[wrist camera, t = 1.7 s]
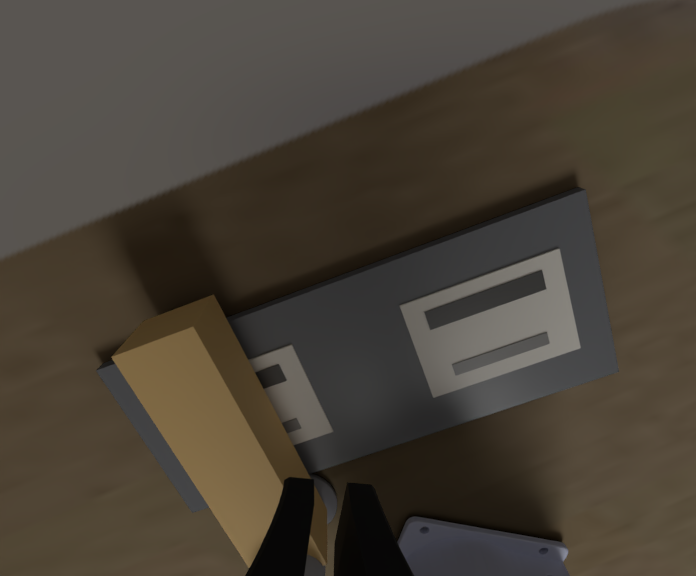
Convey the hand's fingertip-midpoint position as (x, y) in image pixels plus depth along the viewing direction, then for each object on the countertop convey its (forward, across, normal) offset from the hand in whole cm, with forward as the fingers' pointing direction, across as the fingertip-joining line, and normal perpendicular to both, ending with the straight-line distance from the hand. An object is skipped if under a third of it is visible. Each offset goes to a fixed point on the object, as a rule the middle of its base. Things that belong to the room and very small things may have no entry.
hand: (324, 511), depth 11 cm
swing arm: (+9, +3, +5) cm, 11 cm away
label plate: (+10, -2, +2) cm, 10 cm away
